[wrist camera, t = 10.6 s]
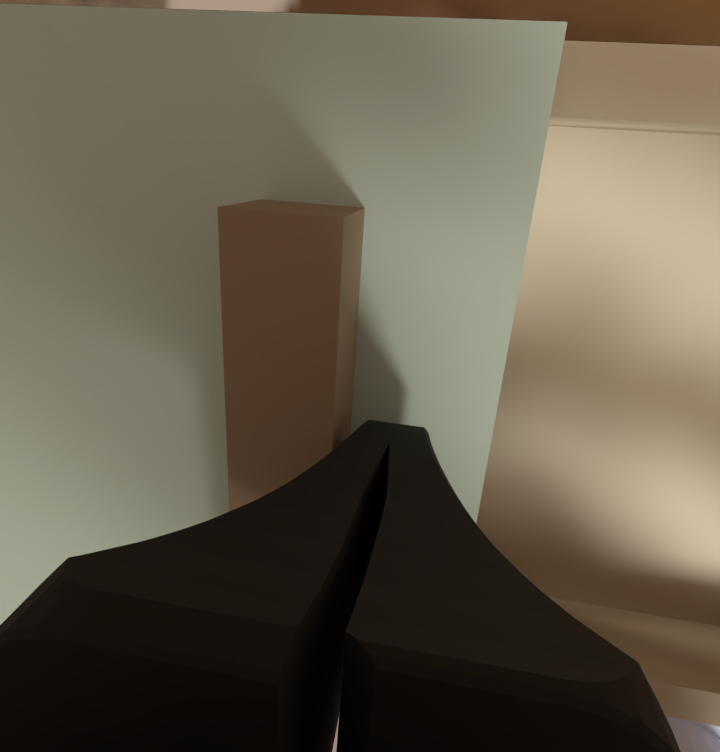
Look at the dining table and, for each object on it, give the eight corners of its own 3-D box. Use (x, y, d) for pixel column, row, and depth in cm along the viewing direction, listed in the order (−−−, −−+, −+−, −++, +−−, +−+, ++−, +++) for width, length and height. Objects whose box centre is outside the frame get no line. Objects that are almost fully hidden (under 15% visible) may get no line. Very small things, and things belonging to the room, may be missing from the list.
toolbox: (780, 643, 17) (854, 753, 14) (361, 571, 19) (342, 652, 16) (1059, 95, 11) (1303, 67, 8) (402, 66, 13) (385, 33, 10)
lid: (442, 681, 15) (439, 795, 12) (9, 596, 17) (-77, 679, 14) (556, 36, 9) (600, -20, 6) (-139, 11, 11) (-340, -41, 8)
